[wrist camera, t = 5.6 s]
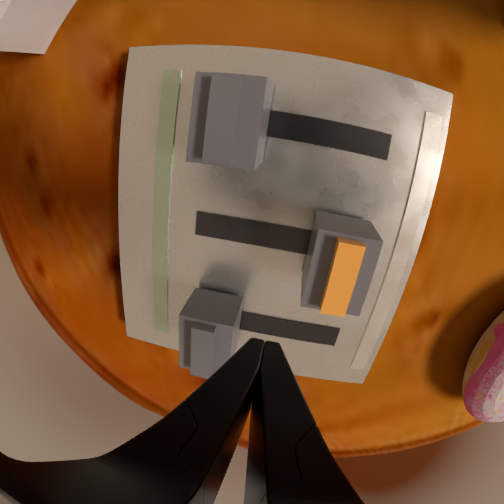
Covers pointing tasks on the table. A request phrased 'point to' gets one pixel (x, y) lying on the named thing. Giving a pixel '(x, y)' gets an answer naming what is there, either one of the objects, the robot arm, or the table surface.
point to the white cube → (31, 23)
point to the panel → (273, 197)
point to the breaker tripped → (339, 264)
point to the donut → (486, 375)
